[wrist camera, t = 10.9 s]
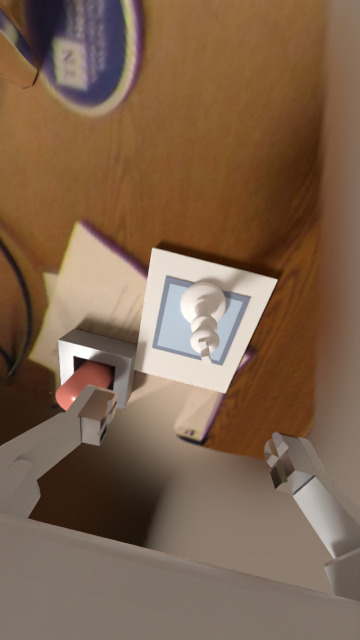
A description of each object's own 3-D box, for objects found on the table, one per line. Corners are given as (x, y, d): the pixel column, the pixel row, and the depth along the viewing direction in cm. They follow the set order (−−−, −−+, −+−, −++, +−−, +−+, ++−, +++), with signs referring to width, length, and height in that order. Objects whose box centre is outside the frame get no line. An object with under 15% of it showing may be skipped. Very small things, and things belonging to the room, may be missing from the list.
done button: (83, 354, 23) (54, 381, 19) (115, 362, 23) (95, 392, 19) (83, 379, 25) (56, 409, 20) (113, 387, 25) (93, 419, 20)
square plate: (154, 247, 19) (151, 247, 18) (274, 277, 19) (278, 280, 18) (135, 365, 25) (133, 370, 24) (224, 387, 25) (225, 394, 24)
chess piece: (220, 276, 18) (241, 311, 9) (229, 319, 20) (255, 385, 11) (174, 289, 19) (152, 331, 10) (187, 329, 21) (177, 396, 12)
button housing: (74, 328, 24) (58, 339, 21) (139, 345, 24) (131, 358, 21) (75, 378, 28) (62, 393, 25) (131, 392, 28) (124, 409, 25)
